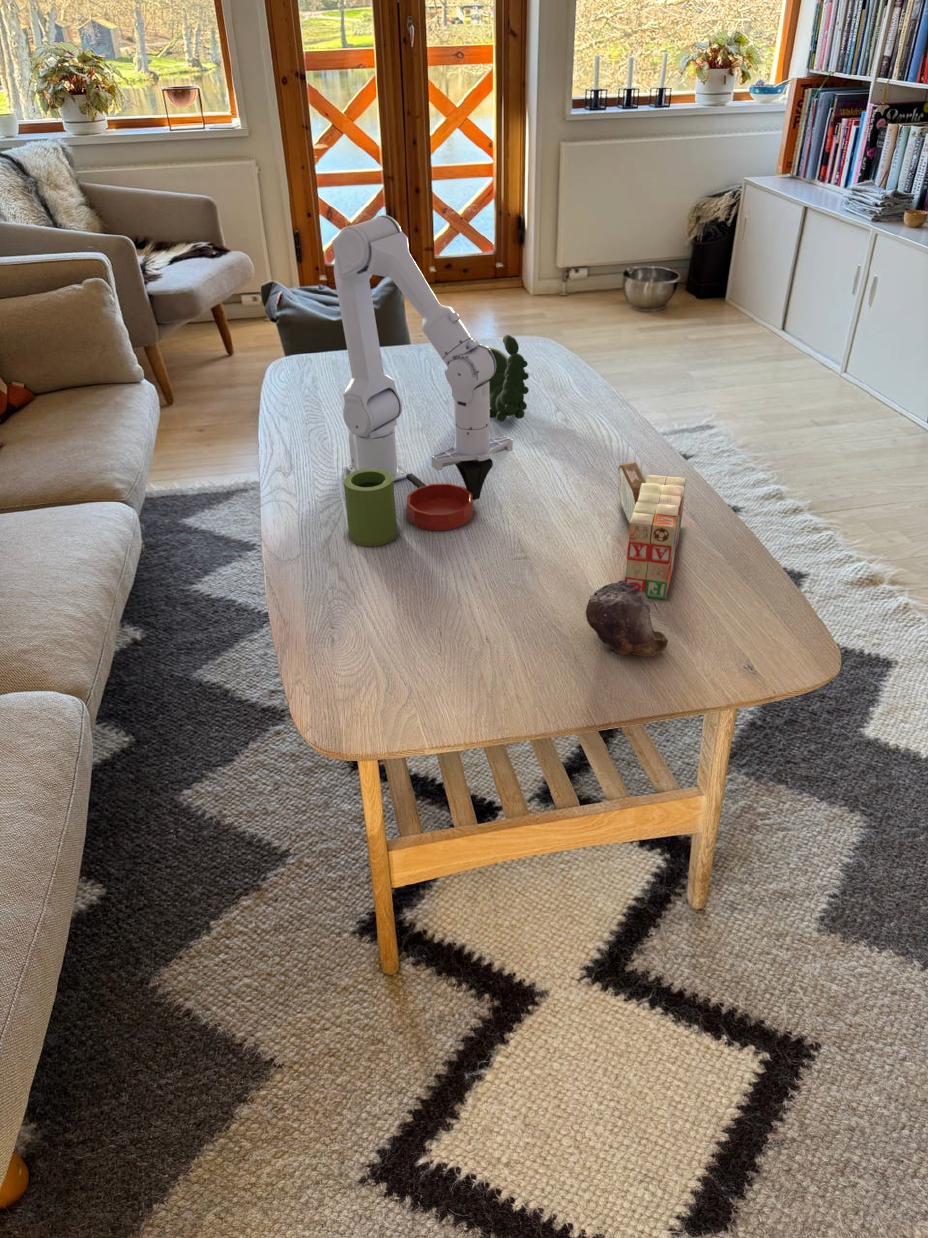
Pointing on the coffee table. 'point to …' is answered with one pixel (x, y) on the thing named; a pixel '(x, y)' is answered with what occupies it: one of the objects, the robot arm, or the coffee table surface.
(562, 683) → the coffee table surface
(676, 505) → the stack of blocks
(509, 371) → the toy figurine
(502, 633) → the coffee table surface
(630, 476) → the tin
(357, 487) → the crock
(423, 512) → the pan
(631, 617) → the rock
